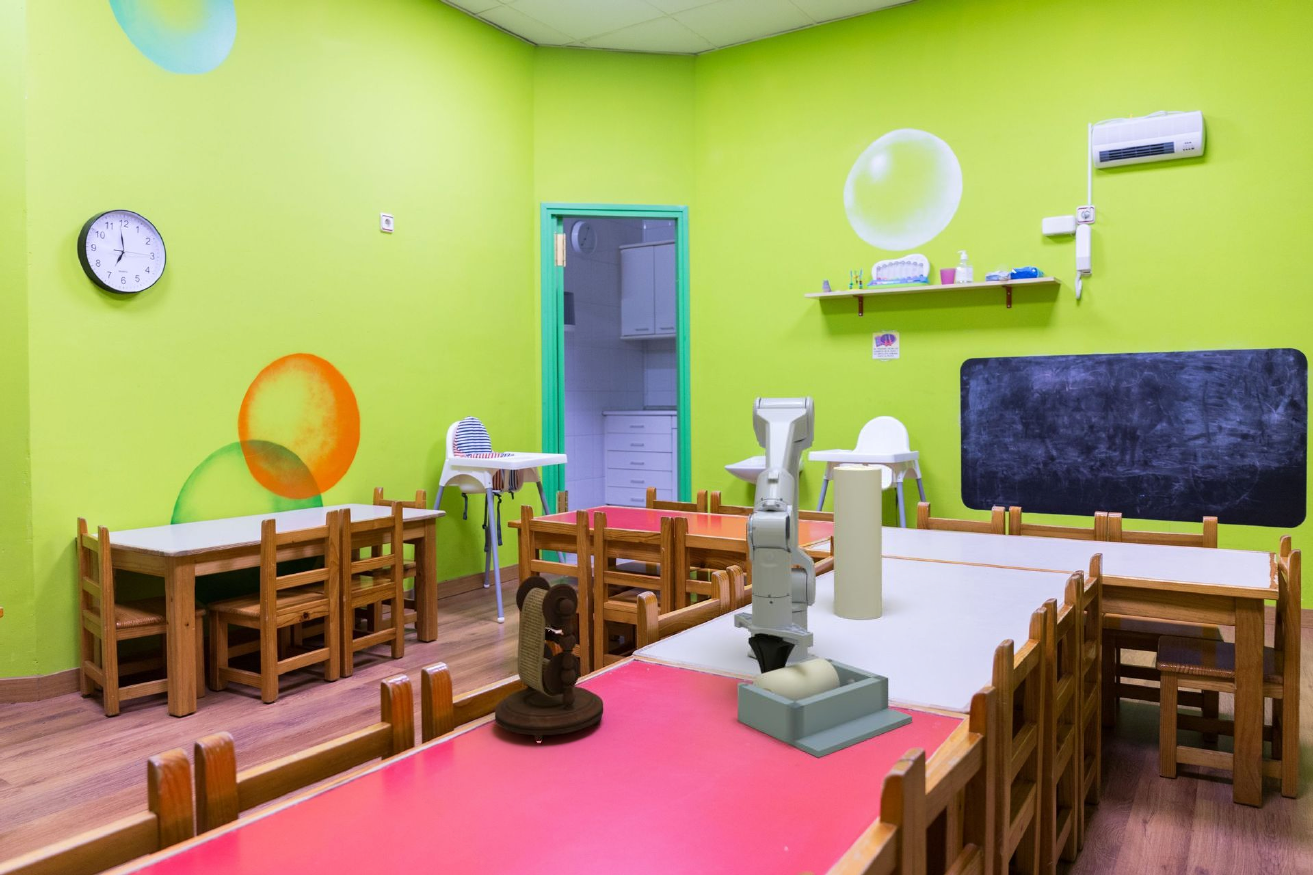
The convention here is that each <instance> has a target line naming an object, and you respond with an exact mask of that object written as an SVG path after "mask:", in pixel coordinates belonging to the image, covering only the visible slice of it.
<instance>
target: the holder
mask: <svg viewBox="0 0 1313 875" xmlns="http://www.w3.org/2000/svg"><path fill="white" fill-rule="evenodd" d="M824 659H825V660H827V661H828V662H829V663H830V664H831V665H832V666H833V667H834V669H835V670H836V672H837V674H838V677H839V681H840V688H837V689H834V690H830V691H827V692H824V693H821V694H818V695H815V696H811V697H808V698H805V699H802V700H799V701H796V702H794V701H792V700H789V699H787V698H784V697H782V696H779V695H777V694H774V693H772V692H769V691H766V690H764V689H761V688H759V687H756V686H754V685H753V684H751V683H749V682H744V681H742V682H738V683H737V721H738V722H739V723H741V724H744V725H747V726H748V727H751V728H752V729H755V730H757V731H759V732H762V733H764V734H766V735H768V736H771V737H773V738H775V739H777V740H779V741H781V742H783V743H786V744H788V745H790V746H792V747H794V748H796V749H799V750H801V751H803V752H805V753H807V754H809V755H812V756H814V757H816V758H822V757H824V756H827V755H829V754H832V753H834V752H837V751H841V750H843V749H846V748H848V747H850V746H854V745H855V744H858V743H861V742H863V741H866V740H869V739H872V738H875V737H877V736H879V735H882V734H884V733H887V732H888V733H889V732H891V731H892V730H895V729H899V728H901V727H903V726H906V725H908V724H910V723H913V716H912V715H910V714H907V713H905V712H902V711H899V710H896V709H893V708H890V707H889V677H886V676H884V675H880V674H877V673H875V672H871V671H868V670H865V669H862V668H860V667H859V668H858V667H856V666H853V665H849V664H846V663H843V662H840V661H837V660H834V659H832V658H824Z"/></svg>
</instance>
